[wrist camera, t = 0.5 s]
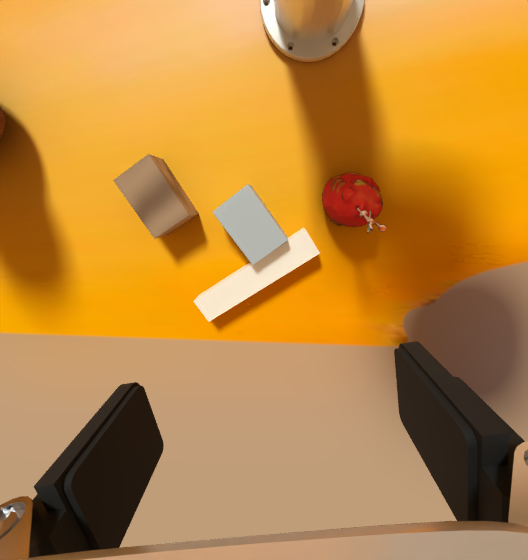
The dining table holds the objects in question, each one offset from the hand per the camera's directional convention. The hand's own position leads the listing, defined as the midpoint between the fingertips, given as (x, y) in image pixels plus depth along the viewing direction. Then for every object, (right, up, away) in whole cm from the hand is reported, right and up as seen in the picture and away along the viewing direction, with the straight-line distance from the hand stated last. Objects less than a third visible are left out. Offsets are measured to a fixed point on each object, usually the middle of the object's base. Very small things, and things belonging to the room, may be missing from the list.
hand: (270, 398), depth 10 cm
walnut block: (-15, +17, +32) cm, 39 cm away
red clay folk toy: (+12, +16, +31) cm, 37 cm away
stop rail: (-1, +5, +34) cm, 35 cm away
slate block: (-2, +13, +33) cm, 35 cm away
